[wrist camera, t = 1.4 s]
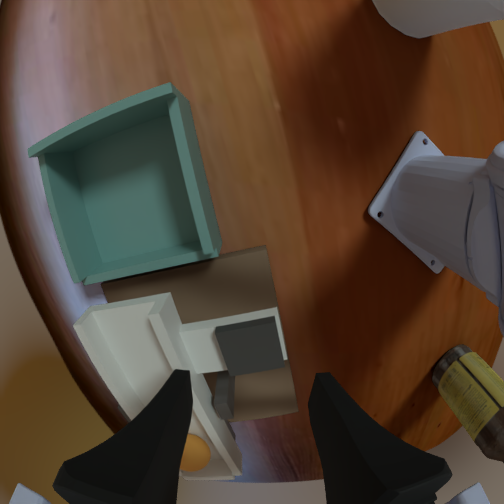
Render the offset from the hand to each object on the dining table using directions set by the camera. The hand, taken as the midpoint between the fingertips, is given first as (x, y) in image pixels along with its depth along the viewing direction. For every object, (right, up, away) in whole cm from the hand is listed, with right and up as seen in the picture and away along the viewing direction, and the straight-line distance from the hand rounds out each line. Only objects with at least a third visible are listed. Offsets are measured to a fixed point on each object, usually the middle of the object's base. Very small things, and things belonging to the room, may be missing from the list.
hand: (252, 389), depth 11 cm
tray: (-3, -3, +7) cm, 8 cm away
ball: (-4, -8, +5) cm, 10 cm away
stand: (-4, -3, +12) cm, 13 cm away
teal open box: (-8, +10, +7) cm, 15 cm away
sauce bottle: (+23, -7, +14) cm, 28 cm away
